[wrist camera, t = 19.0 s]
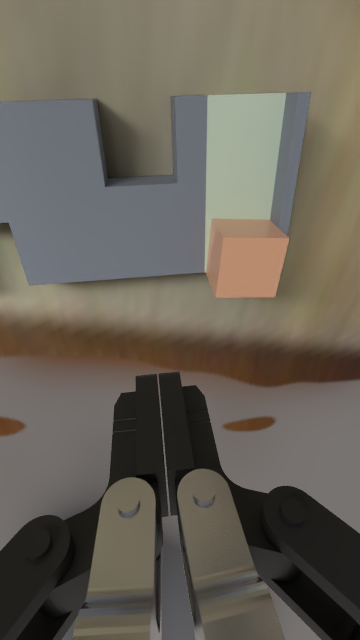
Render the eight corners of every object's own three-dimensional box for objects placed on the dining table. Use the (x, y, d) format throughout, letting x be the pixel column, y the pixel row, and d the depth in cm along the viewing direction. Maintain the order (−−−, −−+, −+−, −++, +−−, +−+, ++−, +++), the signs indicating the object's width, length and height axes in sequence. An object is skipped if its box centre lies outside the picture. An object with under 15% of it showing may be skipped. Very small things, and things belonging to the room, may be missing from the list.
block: (211, 218, 25) (223, 237, 21) (269, 219, 25) (289, 238, 22) (205, 273, 27) (215, 298, 24) (258, 273, 28) (275, 297, 24)
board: (-210, 108, 21) (-291, 112, 17) (281, 92, 23) (311, 92, 19) (-110, 279, 27) (-151, 310, 24) (261, 253, 30) (281, 276, 26)
